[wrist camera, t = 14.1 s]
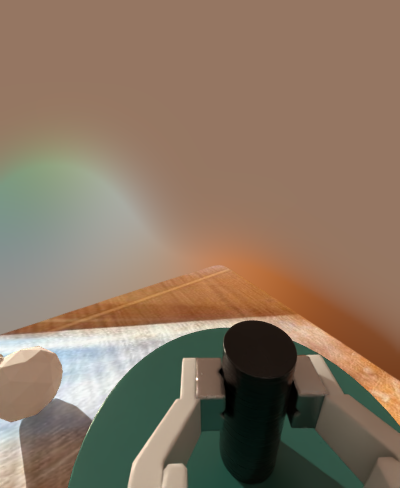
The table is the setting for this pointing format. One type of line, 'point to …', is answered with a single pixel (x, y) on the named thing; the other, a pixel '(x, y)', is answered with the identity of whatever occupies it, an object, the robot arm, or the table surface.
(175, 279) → the table surface
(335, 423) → the robot arm
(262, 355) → the lid
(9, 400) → the ornament
